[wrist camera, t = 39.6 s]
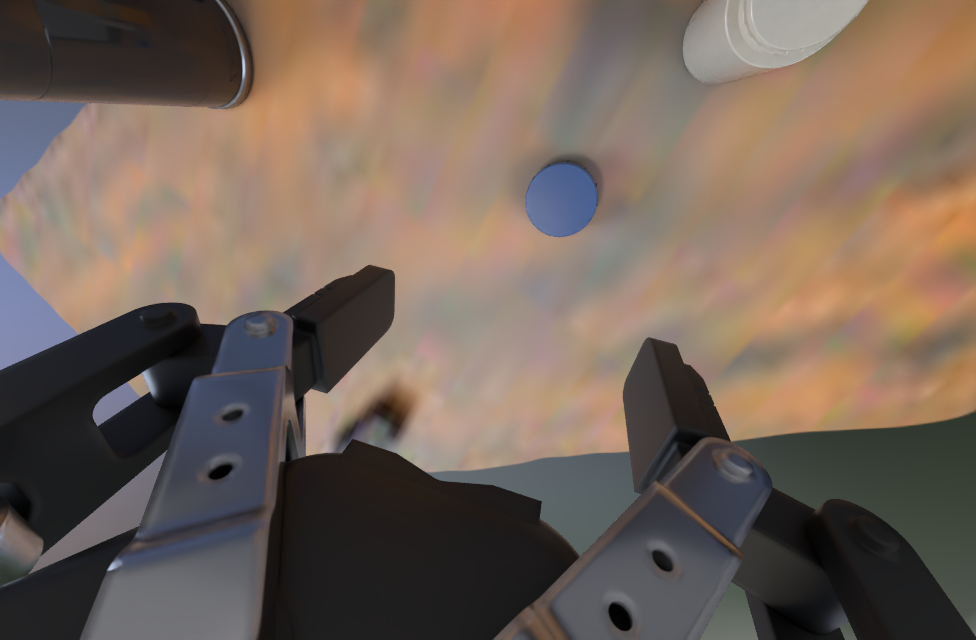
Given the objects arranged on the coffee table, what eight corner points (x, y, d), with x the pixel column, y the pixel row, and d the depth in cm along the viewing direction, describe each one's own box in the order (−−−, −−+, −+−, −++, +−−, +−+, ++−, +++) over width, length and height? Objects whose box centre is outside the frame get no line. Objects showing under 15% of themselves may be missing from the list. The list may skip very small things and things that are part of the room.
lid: (577, 241, 32) (577, 247, 30) (518, 216, 32) (515, 221, 31) (609, 177, 29) (611, 180, 27) (544, 150, 29) (541, 152, 28)
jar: (669, 78, 25) (714, 56, 16) (703, -24, 22) (780, -121, 13) (750, 89, 24) (845, 71, 15) (796, -16, 21) (943, -113, 13)
